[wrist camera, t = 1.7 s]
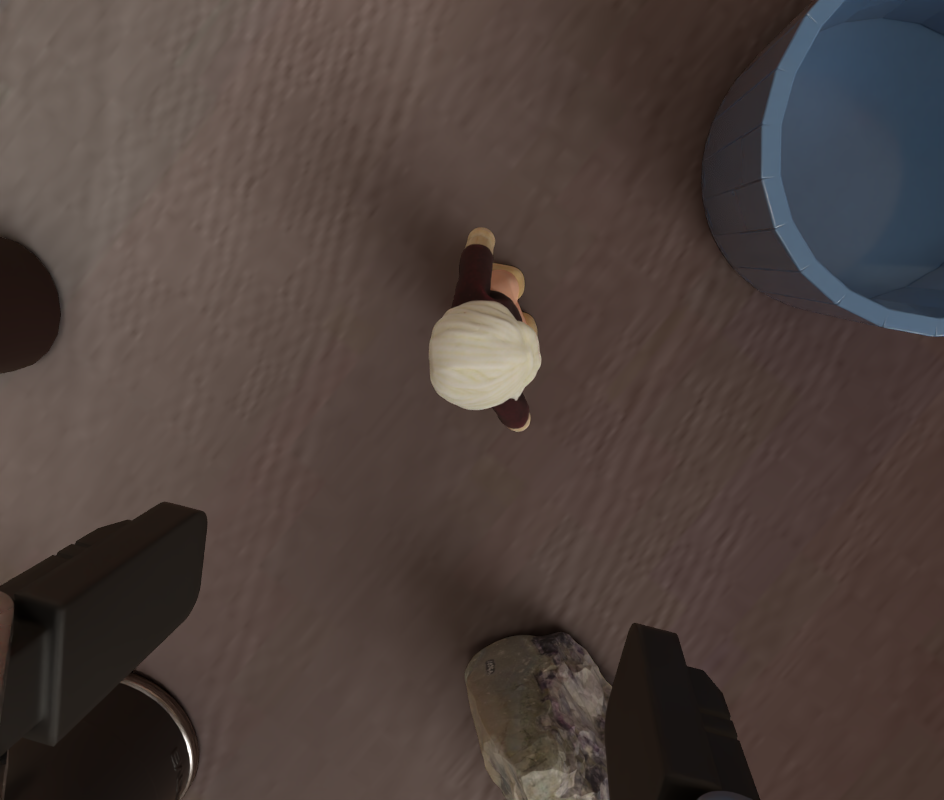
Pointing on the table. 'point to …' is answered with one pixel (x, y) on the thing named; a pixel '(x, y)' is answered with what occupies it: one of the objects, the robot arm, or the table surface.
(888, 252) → the bowl
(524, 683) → the mineral rock
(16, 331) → the bottle
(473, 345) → the grandmother figurine
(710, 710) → the robot arm
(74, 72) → the table surface
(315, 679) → the table surface
